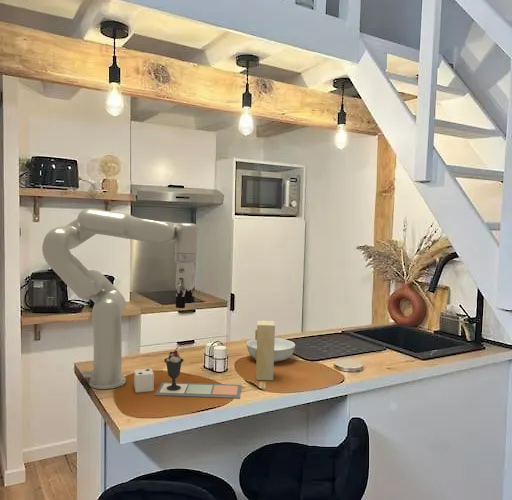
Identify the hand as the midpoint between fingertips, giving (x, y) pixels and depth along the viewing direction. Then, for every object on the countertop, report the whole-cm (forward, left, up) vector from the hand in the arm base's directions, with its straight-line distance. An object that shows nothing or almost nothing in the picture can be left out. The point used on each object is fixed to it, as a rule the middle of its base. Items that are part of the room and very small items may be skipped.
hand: (183, 305), depth 173 cm
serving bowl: (+33, +32, -29) cm, 54 cm away
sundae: (-2, -7, -28) cm, 29 cm away
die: (-12, -7, -29) cm, 32 cm away
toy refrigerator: (+30, +9, -29) cm, 42 cm away
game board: (+7, -7, -29) cm, 30 cm away
